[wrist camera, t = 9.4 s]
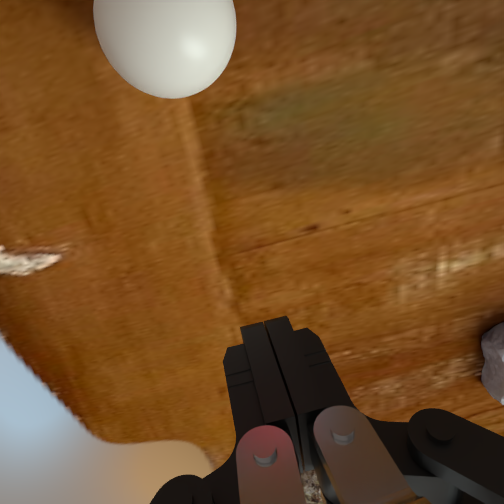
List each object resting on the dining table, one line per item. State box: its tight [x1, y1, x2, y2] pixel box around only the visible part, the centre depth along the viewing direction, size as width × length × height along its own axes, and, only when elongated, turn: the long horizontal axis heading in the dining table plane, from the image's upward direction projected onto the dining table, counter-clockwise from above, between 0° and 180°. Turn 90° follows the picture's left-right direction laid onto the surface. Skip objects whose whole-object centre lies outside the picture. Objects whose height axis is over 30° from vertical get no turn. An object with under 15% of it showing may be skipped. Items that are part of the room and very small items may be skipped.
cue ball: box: [93, 0, 236, 99], centre depth 18 cm, size 6×6×6 cm
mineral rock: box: [301, 466, 324, 504], centre depth 42 cm, size 11×4×8 cm
